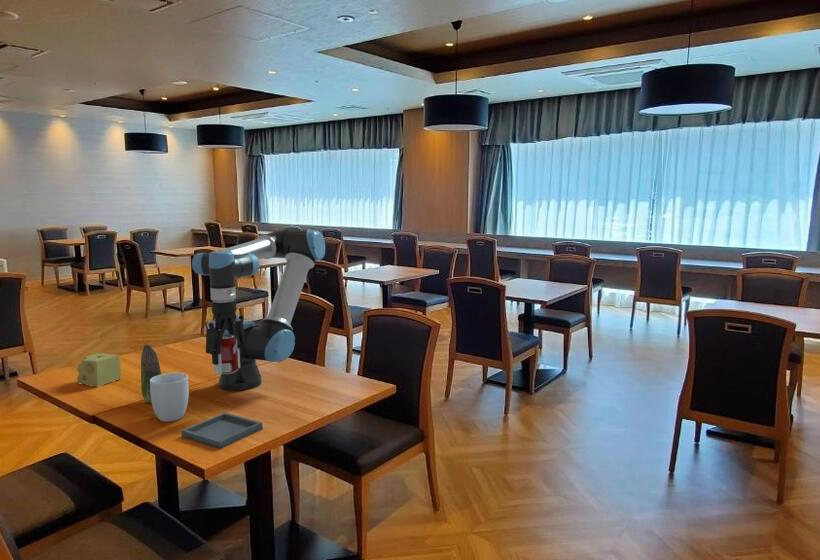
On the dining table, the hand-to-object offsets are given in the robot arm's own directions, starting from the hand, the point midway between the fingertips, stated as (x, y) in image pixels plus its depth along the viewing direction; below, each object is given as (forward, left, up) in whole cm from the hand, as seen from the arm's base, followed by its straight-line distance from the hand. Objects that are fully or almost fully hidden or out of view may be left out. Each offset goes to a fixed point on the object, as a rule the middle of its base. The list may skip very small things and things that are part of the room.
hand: (227, 370), depth 181 cm
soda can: (0, 0, -1) cm, 1 cm away
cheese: (-64, -4, -14) cm, 66 cm away
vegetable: (-29, -7, -14) cm, 33 cm away
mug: (-12, -13, -14) cm, 23 cm away
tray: (+12, -13, -14) cm, 22 cm away
